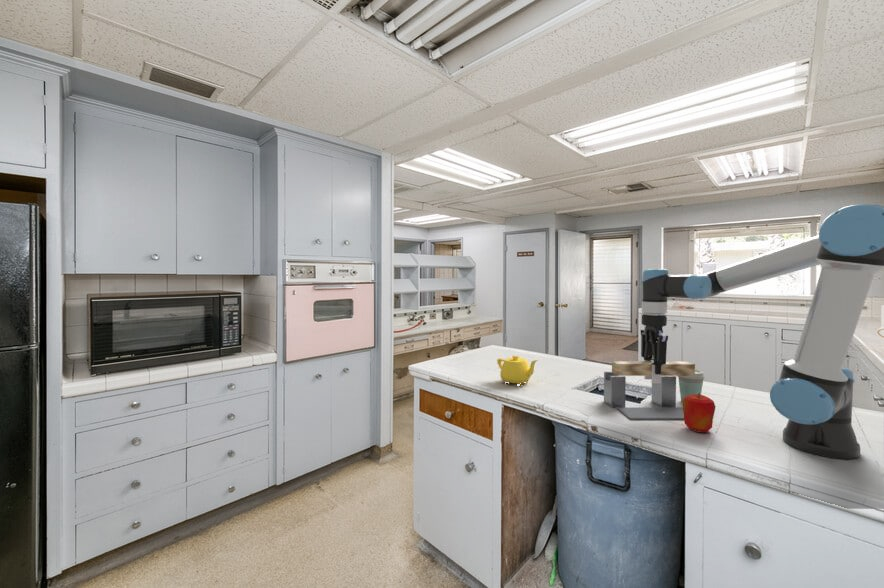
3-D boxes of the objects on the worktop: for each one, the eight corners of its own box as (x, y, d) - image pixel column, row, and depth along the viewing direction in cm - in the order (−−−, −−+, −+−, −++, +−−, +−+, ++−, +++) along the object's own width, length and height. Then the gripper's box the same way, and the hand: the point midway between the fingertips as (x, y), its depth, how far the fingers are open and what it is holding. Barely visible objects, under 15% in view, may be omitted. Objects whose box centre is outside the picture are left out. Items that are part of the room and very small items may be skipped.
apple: (685, 422, 121) (686, 386, 121) (717, 429, 115) (718, 392, 115) (678, 429, 115) (679, 392, 115) (711, 438, 109) (712, 398, 109)
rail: (687, 372, 129) (687, 361, 129) (694, 375, 125) (695, 364, 125) (611, 372, 130) (612, 361, 130) (616, 375, 126) (616, 364, 126)
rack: (675, 407, 134) (676, 376, 134) (611, 407, 135) (611, 376, 135) (664, 401, 141) (665, 371, 141) (603, 401, 142) (603, 371, 142)
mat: (703, 419, 123) (703, 418, 123) (630, 419, 124) (630, 418, 124) (685, 409, 133) (685, 407, 133) (617, 409, 134) (617, 407, 134)
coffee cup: (708, 407, 135) (709, 374, 134) (682, 405, 136) (683, 373, 136) (697, 399, 143) (697, 368, 142) (673, 398, 145) (673, 367, 144)
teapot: (532, 390, 157) (532, 361, 156) (490, 383, 169) (490, 356, 168) (544, 383, 167) (544, 355, 167) (504, 376, 179) (504, 351, 179)
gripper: (680, 316, 118) (678, 388, 119) (652, 311, 135) (650, 374, 136) (656, 316, 118) (654, 388, 120) (631, 311, 135) (629, 374, 137)
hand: (652, 380), depth 128 cm, fingers closed on rail, 4 cm apart
